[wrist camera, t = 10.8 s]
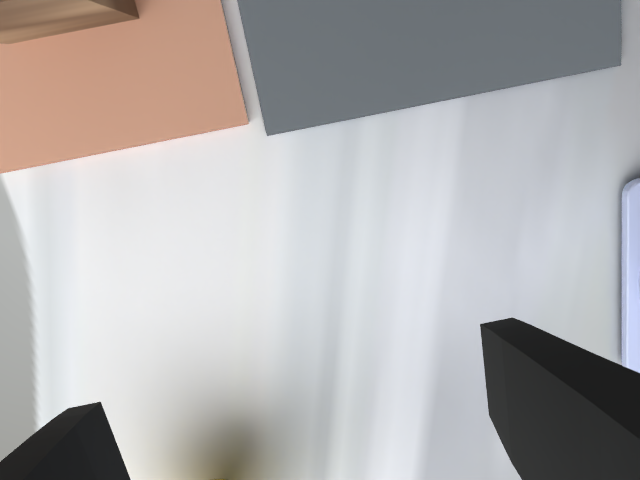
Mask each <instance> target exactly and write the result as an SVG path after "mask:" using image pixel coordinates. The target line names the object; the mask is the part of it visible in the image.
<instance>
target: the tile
mask: <svg viewBox="0 0 640 480" xmlns="http://www.w3.org/2000/svg"><path fill="white" fill-rule="evenodd" d="M135 3H136V7H137V11H138V14H139V18H140V19H135V20H130V21H125V22H120V23H115V24H110V25H105V26H100V27H94V28H89V29H84V30H79V31H74V32H69V33H64V34H59V35H54V36H48V37H43V38H38V39H33V40H28V41H23V42H18V43H13V44H1V43H0V173H6V172H11V171H16V170H21V169H26V168H31V167H36V166H41V165H46V164H51V163H56V162H61V161H66V160H71V159H76V158H81V157H86V156H91V155H96V154H101V153H106V152H111V151H116V150H121V149H126V148H131V147H136V146H141V145H146V144H151V143H156V142H161V141H166V140H171V139H176V138H181V137H186V136H191V135H196V134H201V133H206V132H211V131H216V130H221V129H226V128H231V127H236V126H241V125H246V124H249V121H248V116H247V112H246V107H245V103H244V99H243V94H242V90H241V86H240V81H239V77H238V72H237V68H236V64H235V59H234V55H233V50H232V46H231V42H230V37H229V33H228V28H227V24H226V20H225V15H224V11H223V6H222V2H221V0H135Z"/></svg>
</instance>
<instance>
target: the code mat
mask: <svg viewBox="0 0 640 480" xmlns="http://www.w3.org/2000/svg"><path fill="white" fill-rule="evenodd" d="M237 1H238V5H239V10H240V14H241V19H242V23H243V28H244V33H245V37H246V42H247V46H248V51H249V56H250V60H251V65H252V69H253V74H254V78H255V83H256V88H257V92H258V97H259V101H260V106H261V111H262V115H263V120H264V124H265V129H266V133H267V136H269V135H274V134H279V133H284V132H289V131H294V130H299V129H305V128H310V127H315V126H320V125H325V124H330V123H335V122H340V121H345V120H350V119H355V118H360V117H365V116H370V115H375V114H380V113H385V112H390V111H395V110H400V109H405V108H410V107H415V106H420V105H425V104H430V103H435V102H440V101H445V100H450V99H455V98H460V97H465V96H470V95H475V94H480V93H485V92H490V91H495V90H500V89H505V88H510V87H515V86H520V85H525V84H530V83H535V82H540V81H545V80H550V79H555V78H560V77H565V76H570V75H575V74H580V73H585V72H590V71H595V70H600V69H605V68H610V67H615V66H620V65H621V0H237Z"/></svg>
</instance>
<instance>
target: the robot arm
mask: <svg viewBox="0 0 640 480" xmlns="http://www.w3.org/2000/svg"><path fill="white" fill-rule="evenodd" d="M480 327H481V337H482V347H483V357H484V368H485V378H486V388H487V398H488V409H489V416H490V418H491V420H492V422H493V424H494V427H495V429H496V431H497V433H498V435H499V437H500V440H501V442H502V444H503V446H504V448H505V450H506V452H507V454H508V456H509V458H510V460H511V462H512V464H513V466H514V467H515V469H516V470H517V472H518V474H519V475H520V477H521V479H522V480H640V178H638V179H634V180H632V181H630V182H629V183H627V184H626V185H625V187H624V189H623V192H622V365H623V366H622V365H619V364H617V363H614V362H612V361H610V360H607V359H605V358H603V357H600V356H598V355H596V354H594V353H591V352H589V351H587V350H585V349H582V348H580V347H578V346H576V345H574V344H571V343H569V342H567V341H565V340H563V339H560V338H558V337H556V336H554V335H552V334H550V333H547V332H545V331H543V330H541V329H539V328H536V327H534V326H532V325H530V324H527V323H525V322H522V321H520V320H517V319H515V318H508V319H503V320H498V321H493V322H489V323H484V324H480ZM0 480H130V477H129V474H128V472H127V469H126V467H125V464H124V461H123V459H122V456H121V454H120V451H119V448H118V446H117V443H116V441H115V438H114V435H113V433H112V430H111V428H110V425H109V422H108V420H107V417H106V415H105V412H104V409H103V407H102V404H101V402H97V403H92V404H87V405H82V406H78V407H73V408H68V409H67V410H65V411H64V412H62V413H61V414H59V415H58V416H56V417H55V418H54V419H52V420H51V421H50V422H48V423H47V424H46V425H45V426H43V427H42V428H41V429H40V430H38V431H37V432H36V433H35V434H33V435H32V436H31V437H30V438H28V439H27V440H26V441H25V442H24V443H22V444H21V445H20V446H19V447H17V448H16V449H15V450H14V451H13V452H12V453H10V454H9V455H8V456H7V457H5V458H4V459H3V460H2V461H1V462H0Z"/></svg>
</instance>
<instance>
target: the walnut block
mask: <svg viewBox="0 0 640 480" xmlns="http://www.w3.org/2000/svg"><path fill="white" fill-rule="evenodd" d="M135 19H140V18H139V14H138V11H137V7H136V3H135V0H0V43H1V44H13V43H18V42H23V41H28V40H33V39H38V38H43V37H48V36H54V35H59V34H64V33H69V32H74V31H79V30H84V29H89V28H94V27H100V26H105V25H110V24H115V23H120V22H125V21H130V20H135Z"/></svg>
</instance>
